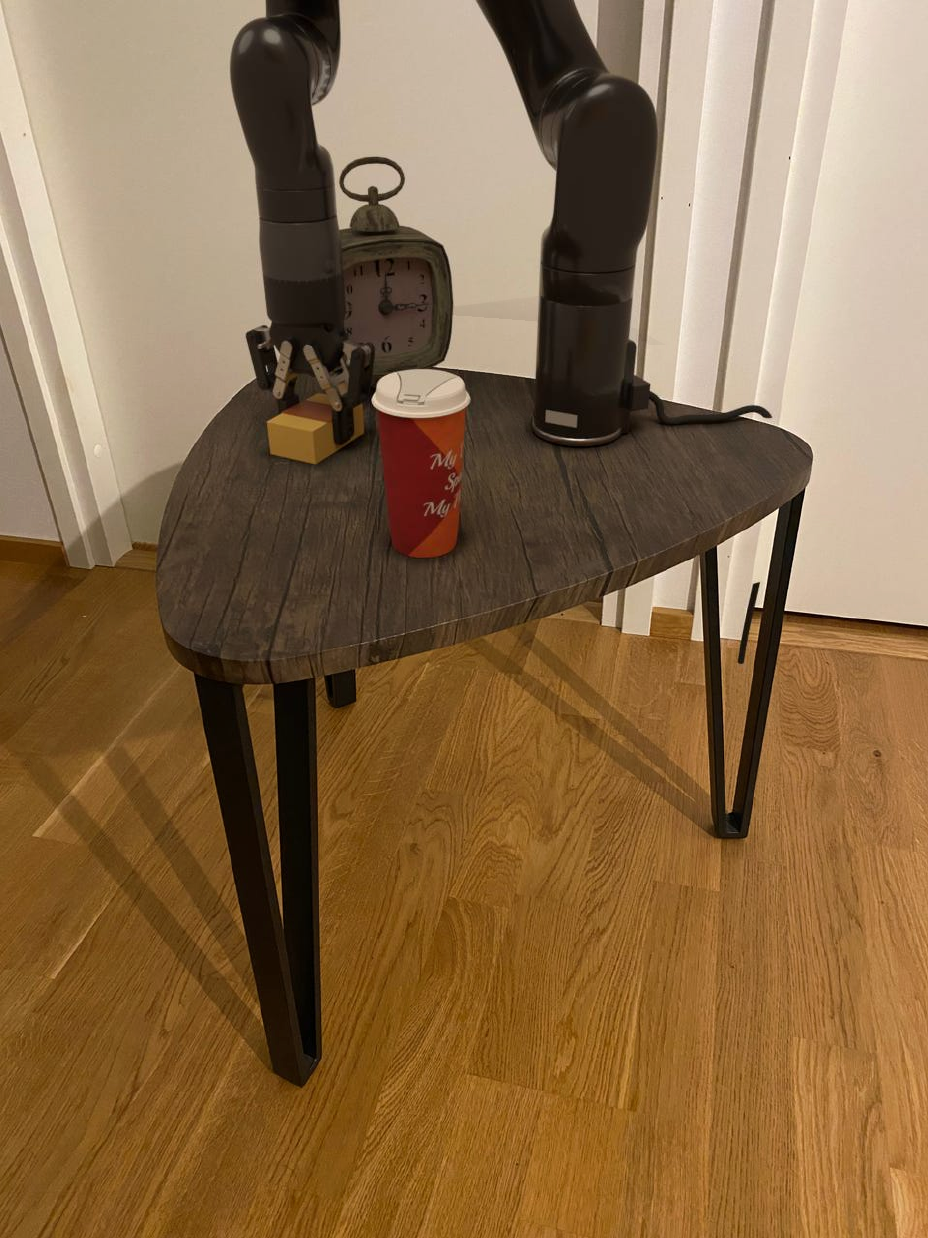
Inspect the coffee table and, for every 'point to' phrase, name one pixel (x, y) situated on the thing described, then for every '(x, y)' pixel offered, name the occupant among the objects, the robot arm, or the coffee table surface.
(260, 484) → the coffee table surface
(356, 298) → the tabletop clock
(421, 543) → the paper cup
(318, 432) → the tea packet
